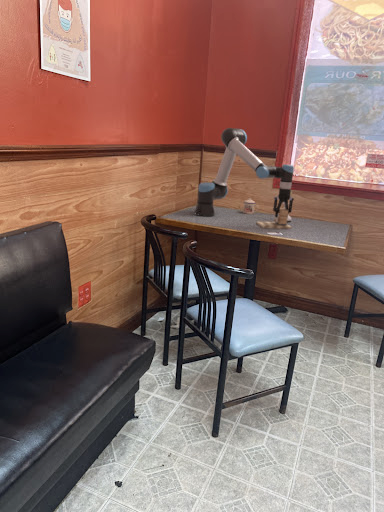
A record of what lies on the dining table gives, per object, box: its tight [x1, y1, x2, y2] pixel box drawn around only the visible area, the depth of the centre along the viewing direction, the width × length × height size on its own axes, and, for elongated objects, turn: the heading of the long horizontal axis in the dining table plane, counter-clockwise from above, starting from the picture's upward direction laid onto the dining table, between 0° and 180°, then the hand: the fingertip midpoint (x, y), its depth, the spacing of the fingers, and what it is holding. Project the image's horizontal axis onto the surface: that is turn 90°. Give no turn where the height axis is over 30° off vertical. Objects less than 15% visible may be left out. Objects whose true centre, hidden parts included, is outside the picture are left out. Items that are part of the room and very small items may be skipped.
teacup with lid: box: [242, 197, 259, 215], centre depth 315 cm, size 12×9×12 cm
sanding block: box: [274, 207, 289, 225], centre depth 273 cm, size 9×5×10 cm, turn 10°
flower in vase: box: [282, 189, 293, 222], centre depth 293 cm, size 13×11×25 cm
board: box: [255, 221, 292, 230], centre depth 274 cm, size 20×14×2 cm
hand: (280, 222), depth 274 cm, fingers closed on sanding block, 5 cm apart
